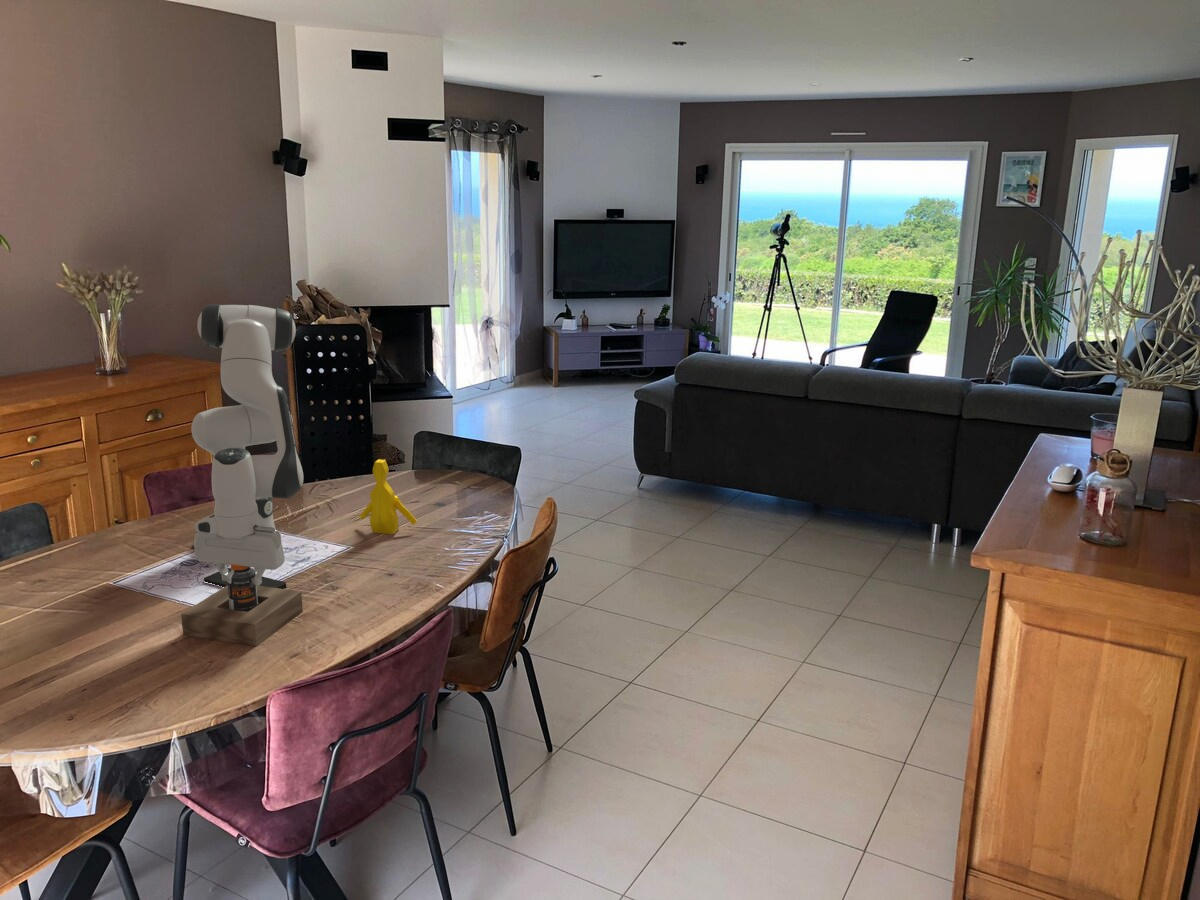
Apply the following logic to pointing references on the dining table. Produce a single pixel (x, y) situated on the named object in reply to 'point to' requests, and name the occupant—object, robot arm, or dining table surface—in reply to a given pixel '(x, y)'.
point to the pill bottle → (241, 588)
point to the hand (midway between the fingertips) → (242, 582)
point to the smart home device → (266, 582)
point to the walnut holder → (242, 616)
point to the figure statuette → (384, 503)
